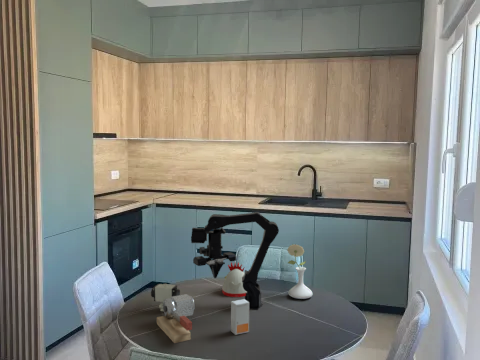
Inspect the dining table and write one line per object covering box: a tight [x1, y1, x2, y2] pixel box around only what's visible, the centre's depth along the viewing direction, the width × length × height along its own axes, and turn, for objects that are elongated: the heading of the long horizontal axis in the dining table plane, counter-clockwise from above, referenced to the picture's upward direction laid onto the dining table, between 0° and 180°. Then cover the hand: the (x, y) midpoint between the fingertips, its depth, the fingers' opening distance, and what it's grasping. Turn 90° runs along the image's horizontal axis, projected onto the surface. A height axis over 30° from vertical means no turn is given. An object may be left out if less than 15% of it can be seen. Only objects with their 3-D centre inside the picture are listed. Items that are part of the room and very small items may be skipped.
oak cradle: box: [156, 315, 192, 344], centre depth 173 cm, size 7×20×5 cm, turn 29°
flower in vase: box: [286, 243, 313, 300], centre depth 211 cm, size 13×11×25 cm
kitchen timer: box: [221, 261, 247, 298], centre depth 217 cm, size 14×14×15 cm
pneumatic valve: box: [150, 283, 181, 313], centre depth 194 cm, size 6×12×12 cm, turn 76°
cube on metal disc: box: [171, 293, 196, 317], centre depth 182 cm, size 8×7×7 cm
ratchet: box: [163, 298, 193, 331], centre depth 174 cm, size 10×24×8 cm, turn 29°
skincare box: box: [230, 298, 250, 336], centre depth 172 cm, size 6×4×12 cm
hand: (215, 277), depth 198 cm, fingers closed
